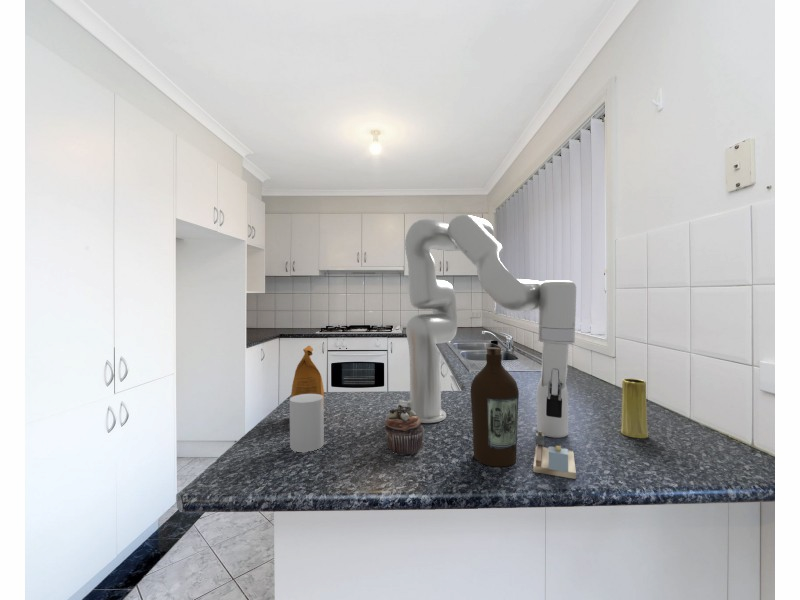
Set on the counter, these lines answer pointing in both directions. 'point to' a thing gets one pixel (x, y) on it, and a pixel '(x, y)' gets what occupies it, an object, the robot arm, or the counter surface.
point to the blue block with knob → (558, 458)
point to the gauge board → (543, 460)
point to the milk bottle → (551, 424)
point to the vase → (634, 408)
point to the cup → (306, 422)
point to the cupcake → (404, 431)
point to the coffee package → (307, 377)
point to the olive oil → (494, 413)
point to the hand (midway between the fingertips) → (553, 415)
